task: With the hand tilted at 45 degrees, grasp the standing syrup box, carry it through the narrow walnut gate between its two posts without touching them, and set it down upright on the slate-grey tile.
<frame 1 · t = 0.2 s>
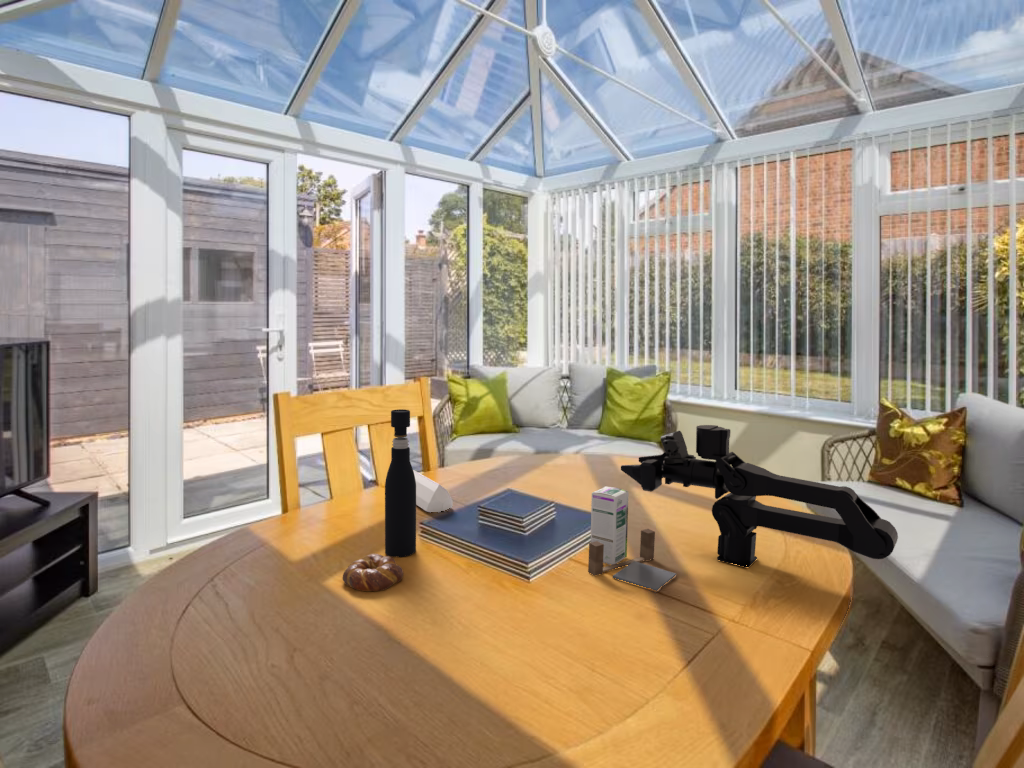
hand: (630, 463, 137), 16 cm above the table, tool horizontal, fingers open, 9 cm apart
syrup box: (608, 559, 123), on the table
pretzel: (372, 581, 111), on the table
black water bottle: (400, 552, 124), on the table
gate: (621, 565, 119), on the table
crystal: (423, 502, 159), on the table
slate tile: (644, 577, 114), on the table
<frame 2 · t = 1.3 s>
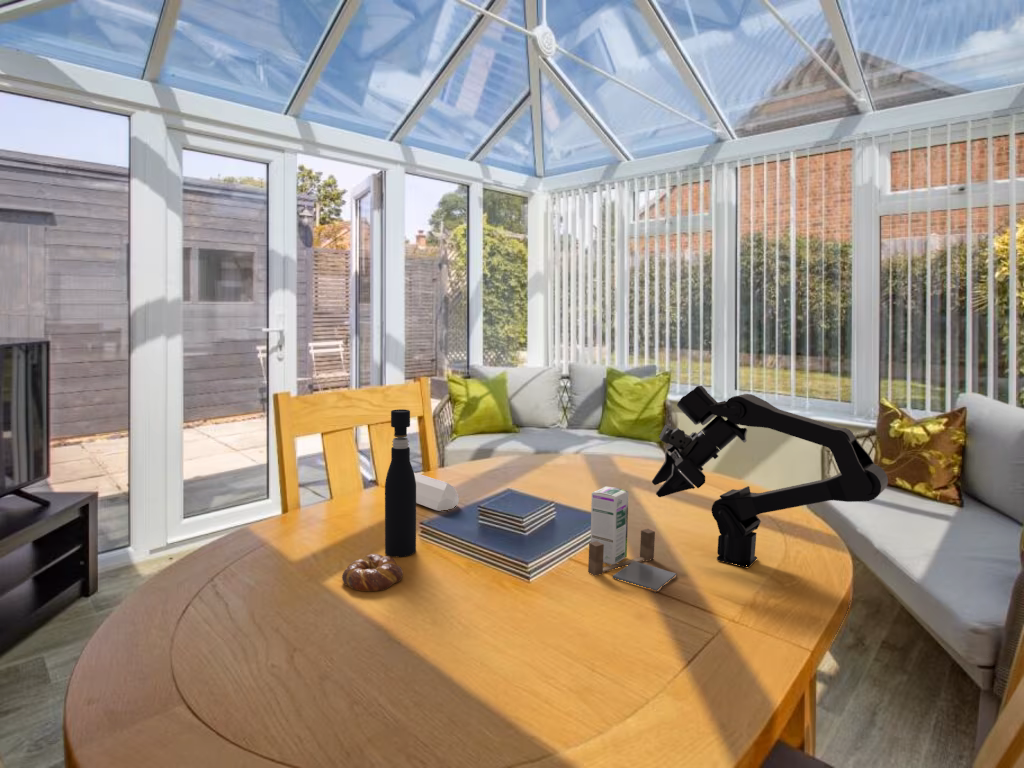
hand: (655, 489, 127), 13 cm above the table, tool tilted 45°, fingers open, 9 cm apart
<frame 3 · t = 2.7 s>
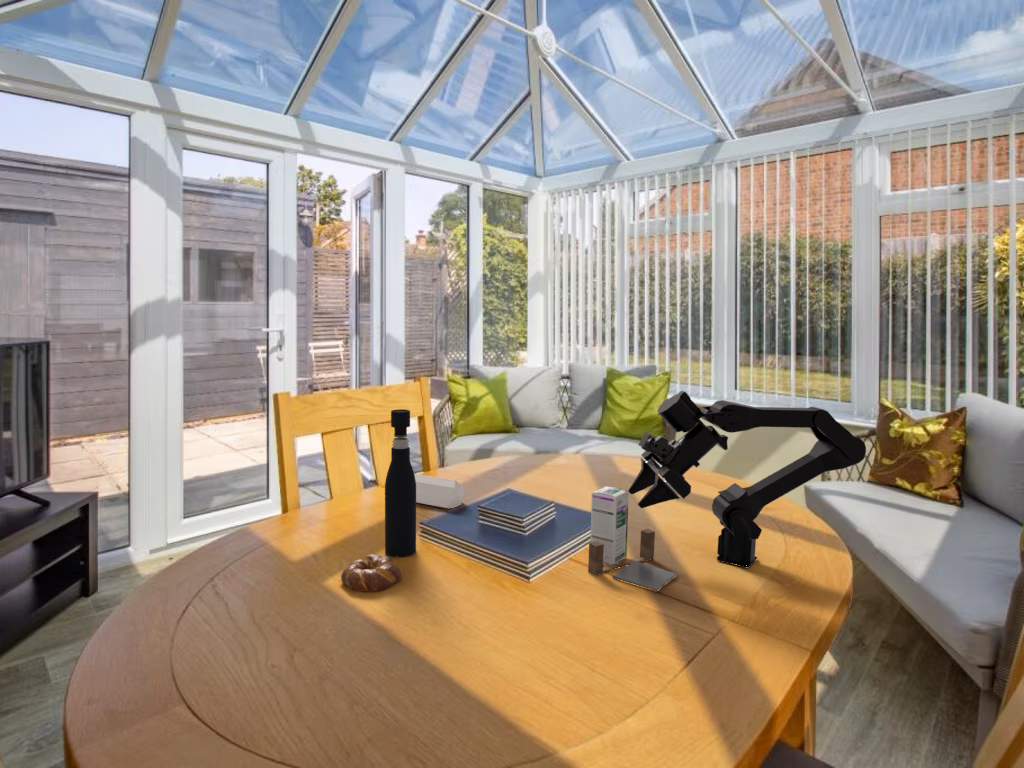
hand: (634, 499, 121), 13 cm above the table, tool tilted 45°, fingers open, 9 cm apart
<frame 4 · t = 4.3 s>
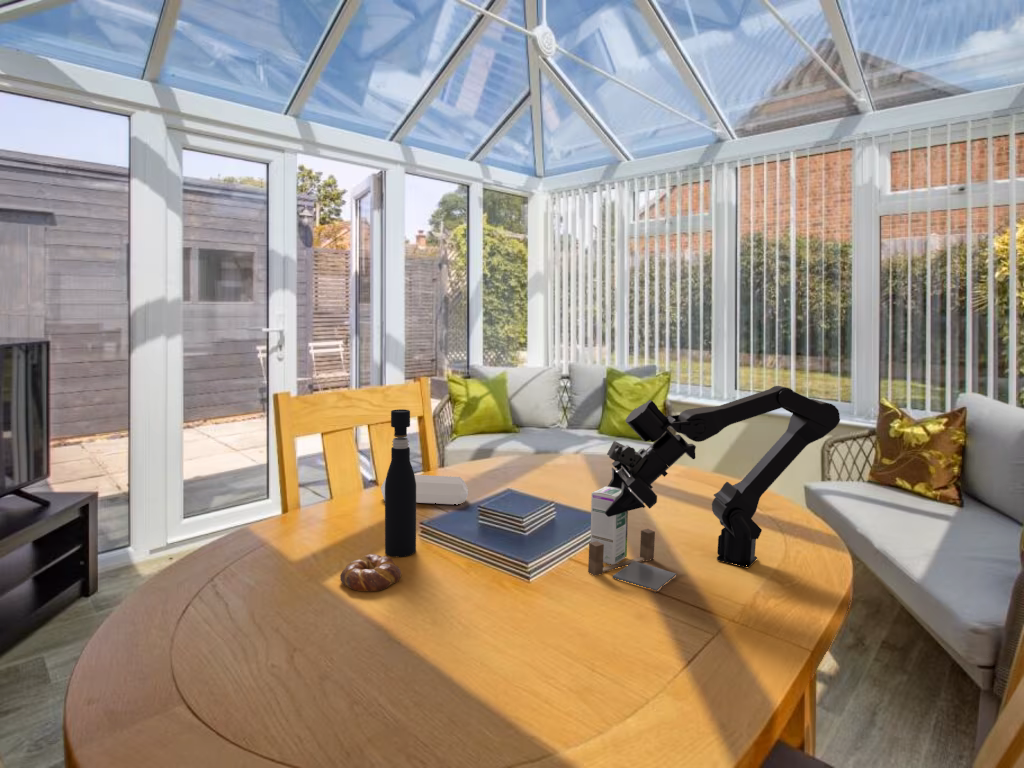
hand: (603, 508, 122), 11 cm above the table, tool tilted 45°, fingers closed on syrup box, 8 cm apart
syrup box: (608, 559, 123), on the table, touching gripper
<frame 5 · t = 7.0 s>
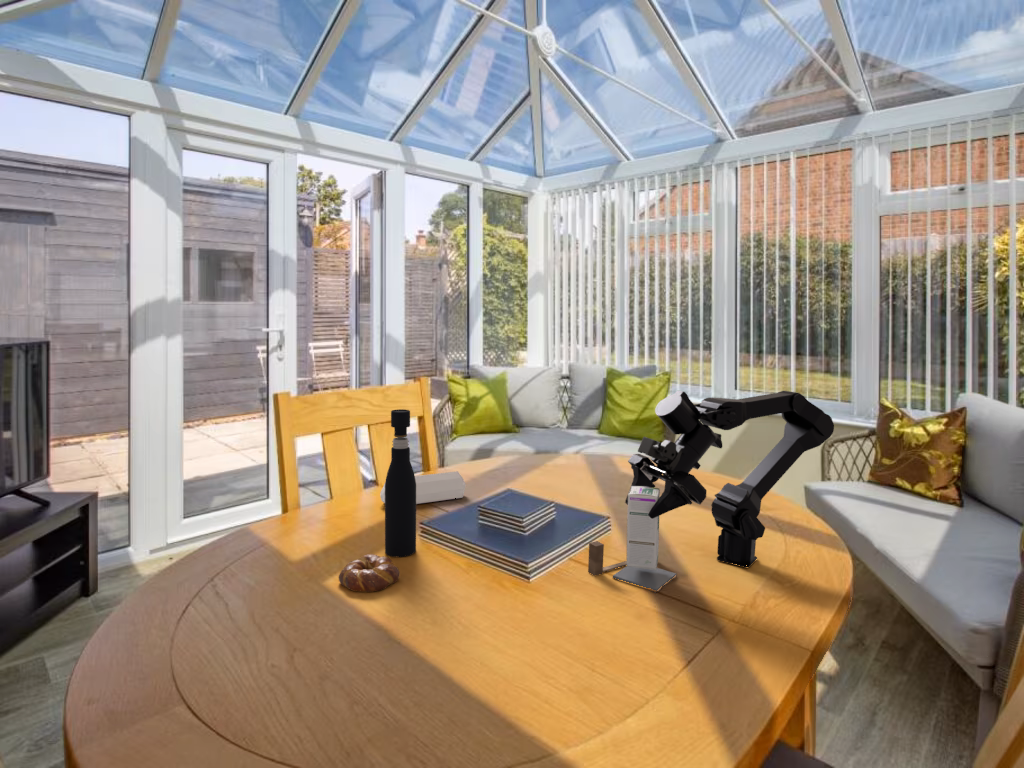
hand: (637, 510, 113), 13 cm above the table, tool tilted 45°, fingers closed on syrup box, 8 cm apart
syrup box: (641, 563, 115), point 2 cm above the table, touching gripper
when the fingers open (12 cm above the table, at t = 8.1 s): syrup box stays where it is, resting on slate tile.
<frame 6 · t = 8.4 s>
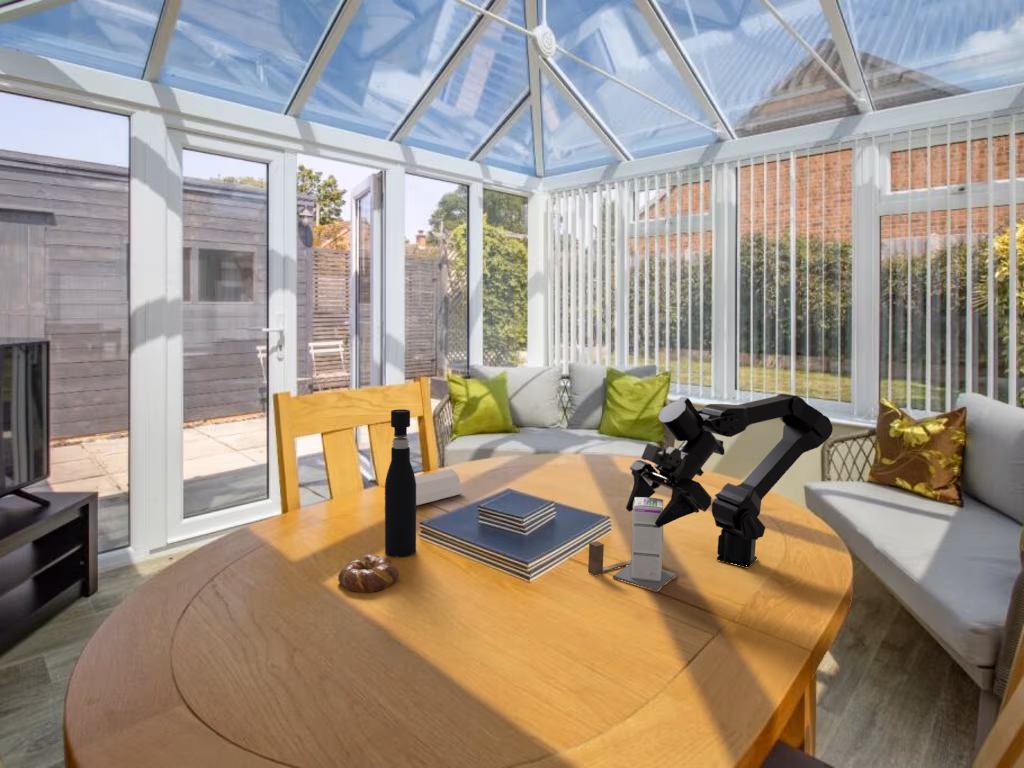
hand: (641, 517, 112), 12 cm above the table, tool tilted 45°, fingers open, 9 cm apart
syrup box: (645, 575, 114), resting on slate tile
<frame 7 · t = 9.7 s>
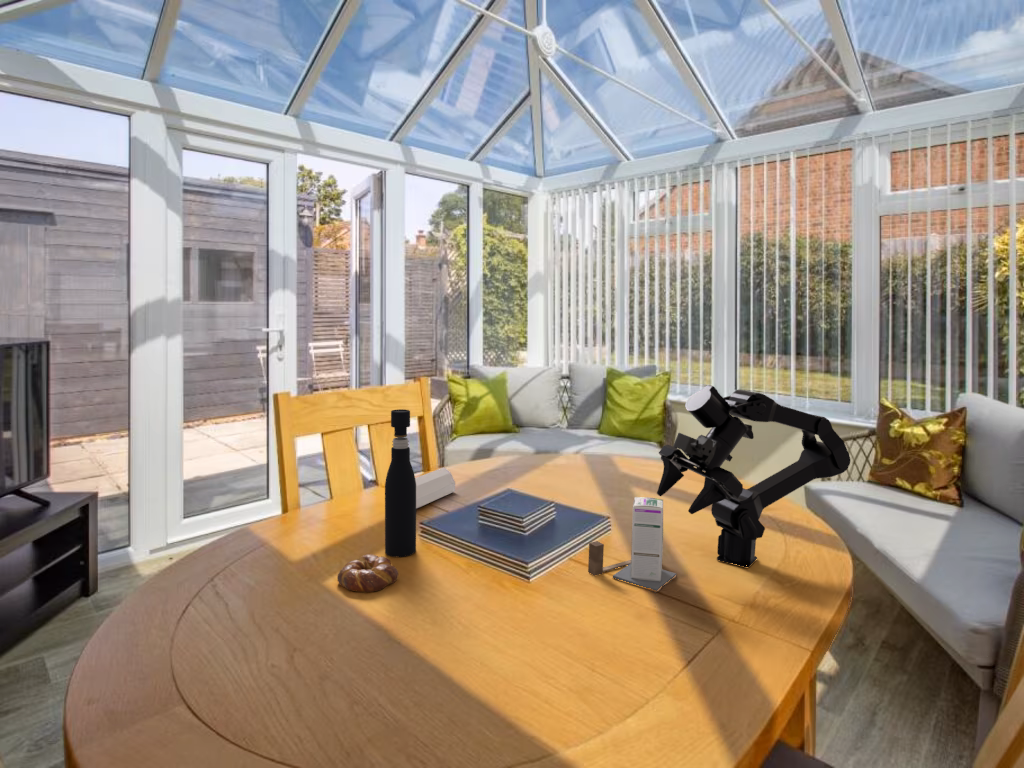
hand: (673, 503, 116), 14 cm above the table, tool tilted 40°, fingers open, 9 cm apart
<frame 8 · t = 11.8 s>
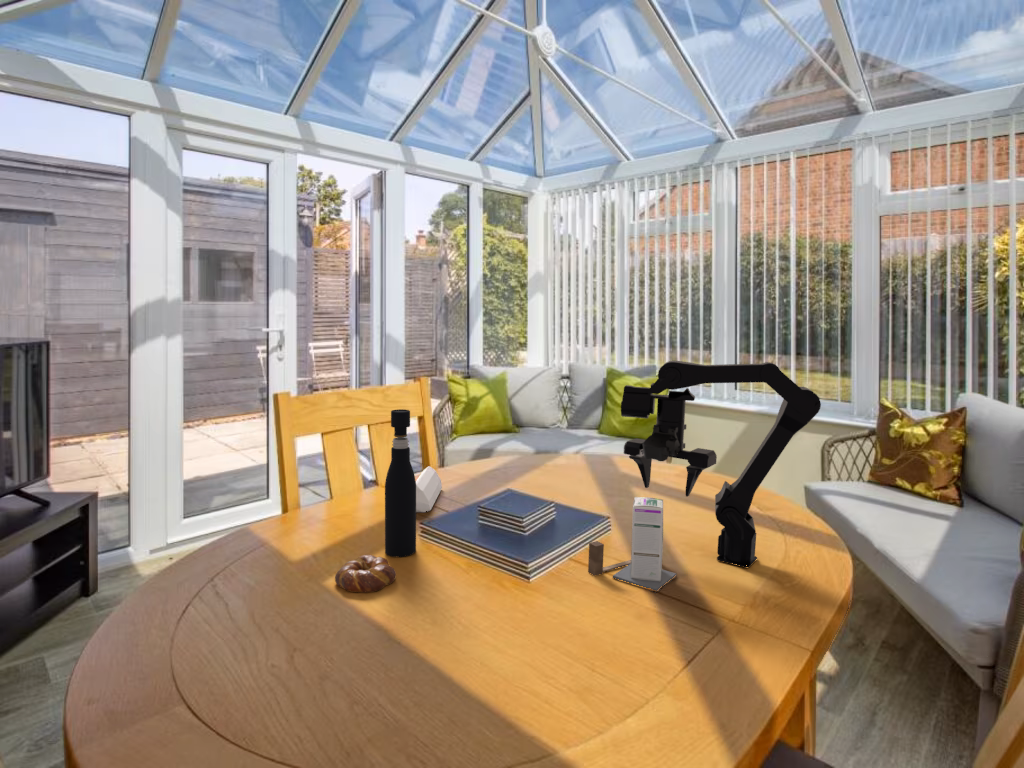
hand: (666, 491, 126), 13 cm above the table, tool pointing down, fingers open, 9 cm apart
at the end: syrup box 0.2 cm from the slate tile (horizontally); syrup box tilted 0°; syrup box touching slate tile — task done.
